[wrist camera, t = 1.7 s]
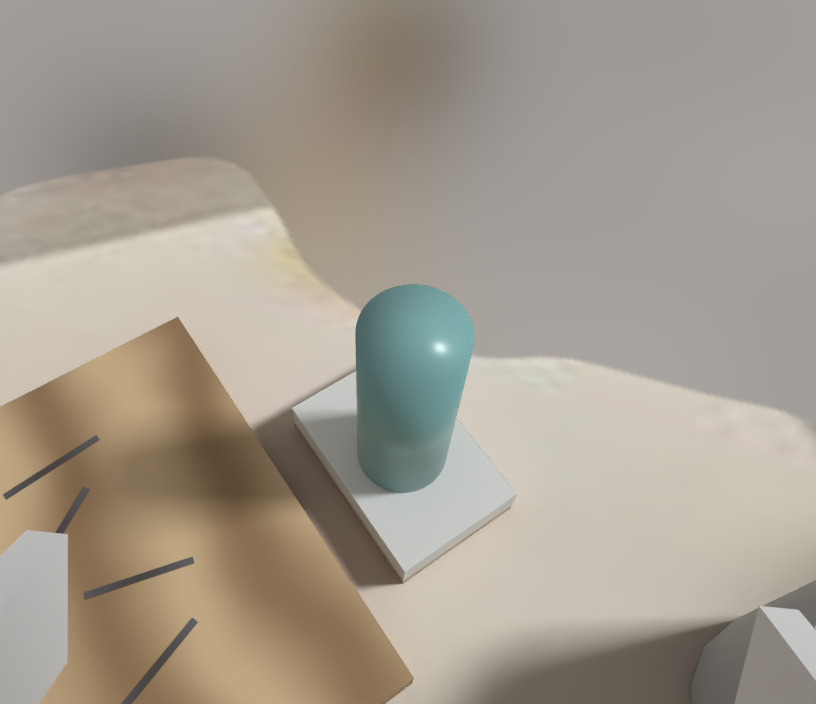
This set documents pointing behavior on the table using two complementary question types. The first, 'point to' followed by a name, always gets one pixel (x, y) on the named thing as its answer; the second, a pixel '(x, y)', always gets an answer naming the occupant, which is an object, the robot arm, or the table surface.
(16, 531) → the board
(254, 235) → the table surface
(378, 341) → the teal cylinder on base
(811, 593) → the cup
